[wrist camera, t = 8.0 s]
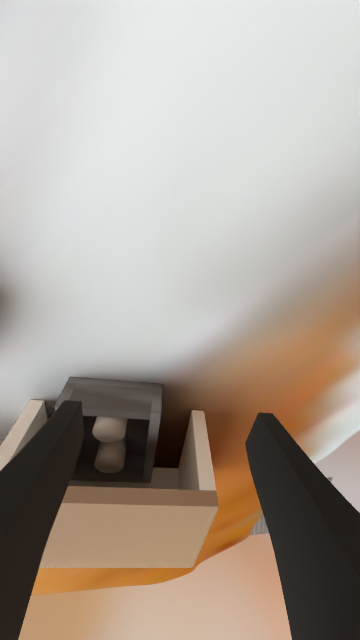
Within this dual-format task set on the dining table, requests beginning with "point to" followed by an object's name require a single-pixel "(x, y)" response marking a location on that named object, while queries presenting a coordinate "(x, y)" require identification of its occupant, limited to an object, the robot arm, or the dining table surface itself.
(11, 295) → the dining table surface
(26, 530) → the robot arm
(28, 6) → the dining table surface
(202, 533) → the shallow storage bin
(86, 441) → the tray
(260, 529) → the architectural model
